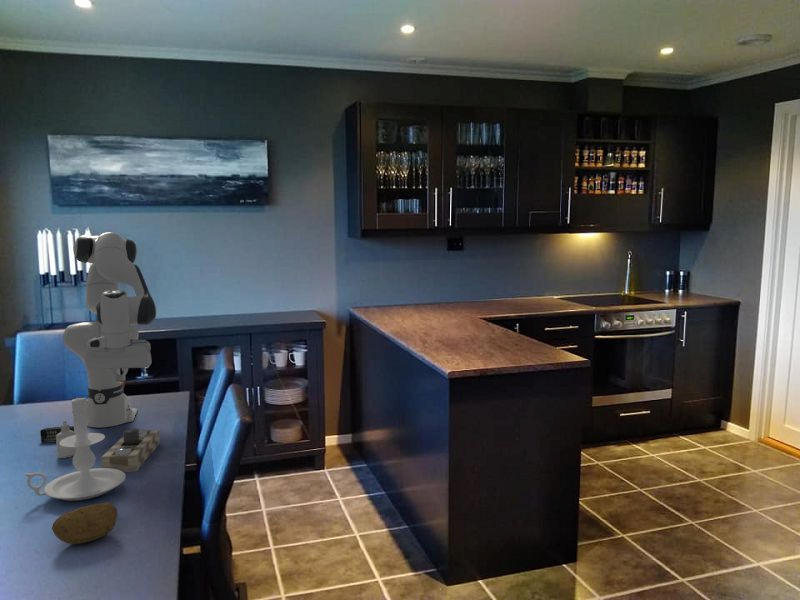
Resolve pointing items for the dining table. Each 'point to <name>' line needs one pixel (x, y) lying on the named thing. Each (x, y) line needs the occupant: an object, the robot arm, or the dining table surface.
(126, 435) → the black knob middle
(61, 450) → the eye dropper bottle
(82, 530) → the potato
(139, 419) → the dining table surface
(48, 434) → the mobile phone
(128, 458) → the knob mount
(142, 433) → the steel knob
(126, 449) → the steel knob
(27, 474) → the candlestick
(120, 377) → the robot arm
